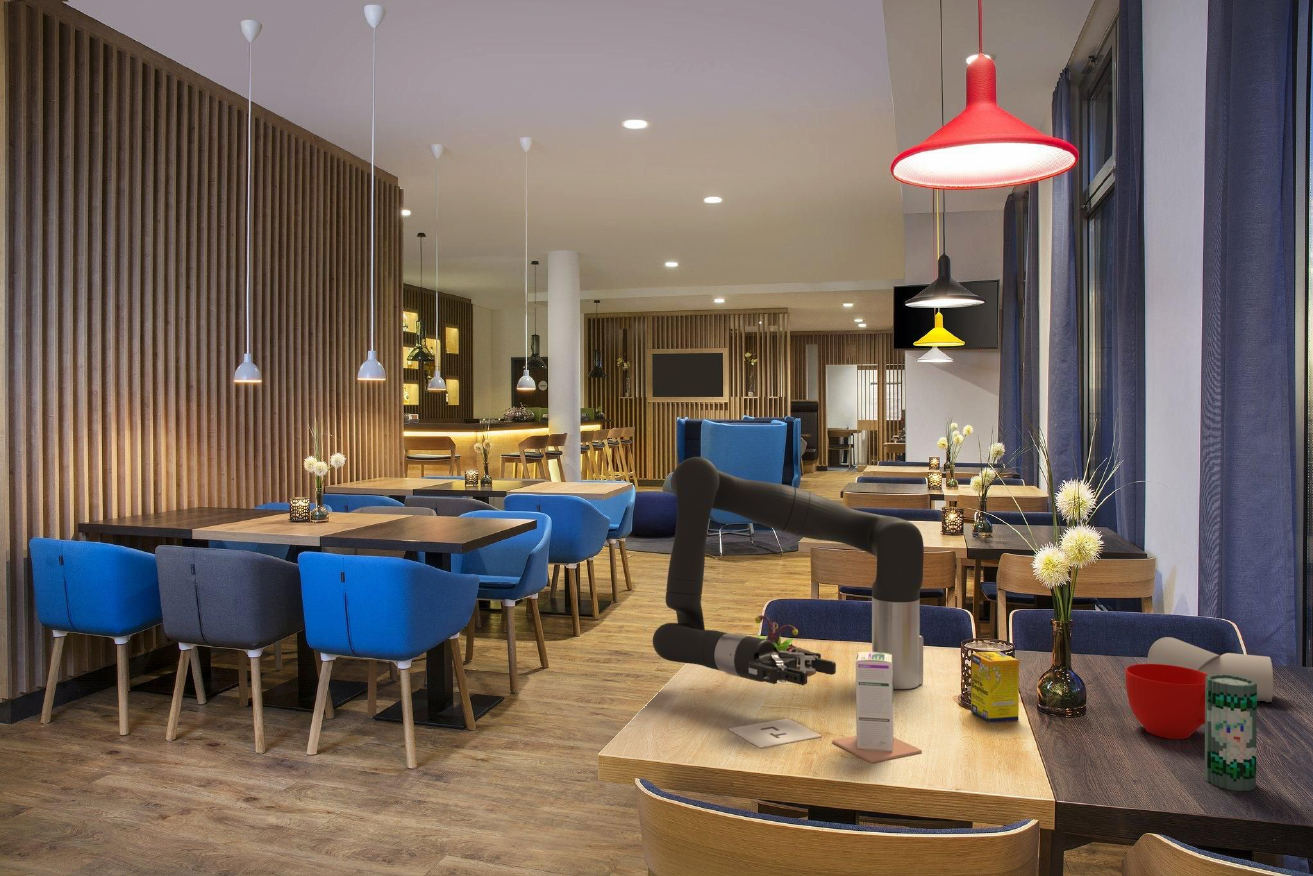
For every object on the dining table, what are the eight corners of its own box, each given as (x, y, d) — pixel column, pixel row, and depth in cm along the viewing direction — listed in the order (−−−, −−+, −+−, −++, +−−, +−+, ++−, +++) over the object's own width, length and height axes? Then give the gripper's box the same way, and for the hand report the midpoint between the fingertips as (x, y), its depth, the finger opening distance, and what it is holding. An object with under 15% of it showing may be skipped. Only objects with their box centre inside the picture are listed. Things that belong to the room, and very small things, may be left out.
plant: (727, 653, 209) (727, 604, 209) (813, 656, 207) (813, 607, 207) (721, 677, 190) (721, 624, 189) (817, 681, 187) (817, 626, 187)
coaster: (880, 733, 155) (880, 731, 155) (921, 752, 146) (921, 750, 146) (832, 742, 150) (832, 740, 150) (871, 763, 141) (871, 760, 141)
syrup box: (893, 752, 144) (893, 661, 144) (855, 749, 146) (855, 659, 146) (893, 740, 150) (893, 652, 150) (856, 737, 151) (856, 650, 151)
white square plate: (787, 719, 162) (787, 718, 162) (821, 737, 153) (821, 735, 153) (728, 729, 157) (728, 728, 157) (760, 748, 148) (760, 746, 148)
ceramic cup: (1205, 759, 143) (1206, 695, 142) (1108, 727, 158) (1108, 669, 157) (1254, 745, 149) (1255, 684, 148) (1155, 715, 164) (1156, 660, 163)
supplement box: (970, 712, 166) (970, 652, 165) (1000, 710, 167) (1000, 650, 167) (988, 723, 160) (988, 661, 160) (1019, 721, 161) (1019, 659, 161)
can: (1210, 787, 132) (1211, 683, 131) (1201, 771, 137) (1202, 672, 137) (1259, 793, 130) (1260, 687, 129) (1248, 777, 135) (1249, 676, 135)
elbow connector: (1150, 690, 175) (1274, 704, 166) (1149, 634, 177) (1273, 645, 168) (1147, 686, 191) (1261, 699, 182) (1147, 635, 193) (1260, 645, 184)
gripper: (720, 643, 161) (796, 659, 150) (769, 629, 172) (843, 644, 160) (720, 685, 161) (796, 705, 150) (769, 669, 172) (843, 686, 160)
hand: (820, 673), depth 155 cm, fingers open, 8 cm apart
